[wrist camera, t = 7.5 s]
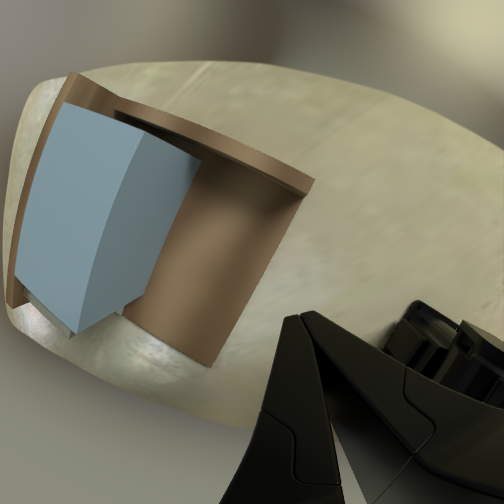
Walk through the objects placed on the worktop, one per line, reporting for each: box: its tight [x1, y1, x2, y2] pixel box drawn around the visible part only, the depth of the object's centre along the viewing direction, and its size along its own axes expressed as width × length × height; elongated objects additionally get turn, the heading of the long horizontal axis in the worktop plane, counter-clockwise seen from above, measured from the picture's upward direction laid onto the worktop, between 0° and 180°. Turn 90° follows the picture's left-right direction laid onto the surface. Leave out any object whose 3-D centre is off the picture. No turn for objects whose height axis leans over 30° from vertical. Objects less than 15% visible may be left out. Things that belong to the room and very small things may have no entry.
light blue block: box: [15, 102, 202, 335], centre depth 17 cm, size 7×12×9 cm, turn 153°
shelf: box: [6, 72, 315, 368], centre depth 17 cm, size 16×17×10 cm
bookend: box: [23, 286, 126, 339], centre depth 19 cm, size 6×2×8 cm, turn 63°
